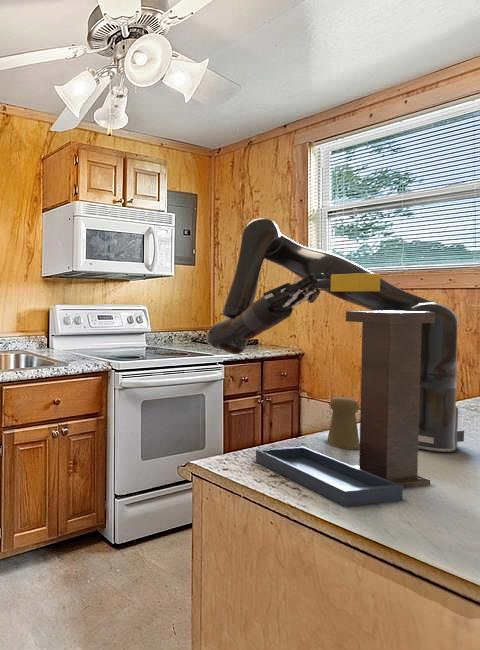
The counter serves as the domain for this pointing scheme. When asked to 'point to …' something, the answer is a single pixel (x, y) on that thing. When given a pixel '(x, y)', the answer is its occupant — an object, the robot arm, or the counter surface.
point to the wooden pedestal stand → (390, 393)
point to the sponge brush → (350, 282)
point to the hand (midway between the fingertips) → (319, 277)
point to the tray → (330, 476)
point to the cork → (344, 424)
